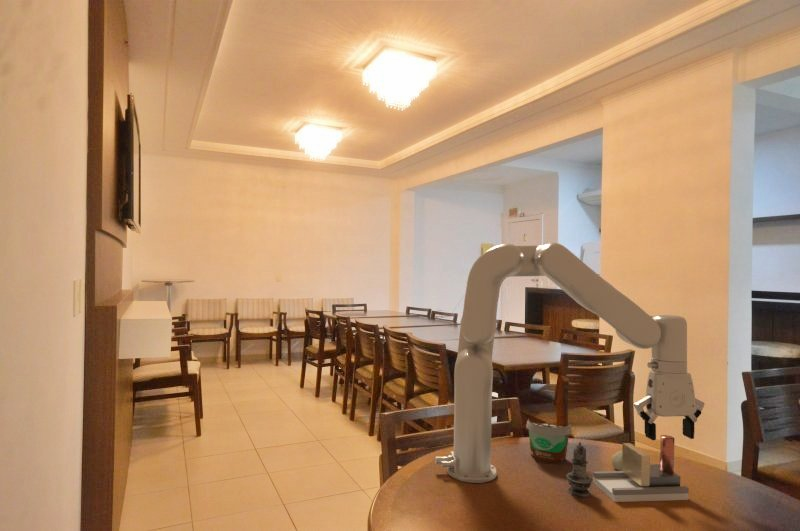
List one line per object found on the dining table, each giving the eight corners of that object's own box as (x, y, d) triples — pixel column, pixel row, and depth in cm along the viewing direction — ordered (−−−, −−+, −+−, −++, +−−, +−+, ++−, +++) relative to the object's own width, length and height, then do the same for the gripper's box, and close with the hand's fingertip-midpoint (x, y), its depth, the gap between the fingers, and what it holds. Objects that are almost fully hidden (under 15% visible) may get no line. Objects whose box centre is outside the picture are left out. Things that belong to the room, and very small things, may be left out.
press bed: (614, 501, 111) (614, 490, 111) (592, 482, 120) (593, 471, 120) (688, 499, 112) (688, 488, 112) (661, 480, 122) (661, 470, 122)
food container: (522, 460, 133) (523, 424, 133) (525, 453, 139) (526, 418, 139) (570, 468, 129) (570, 431, 129) (571, 460, 134) (571, 424, 134)
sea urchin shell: (660, 470, 124) (638, 448, 124) (638, 491, 124) (616, 469, 124) (643, 456, 133) (622, 435, 133) (622, 476, 133) (602, 455, 133)
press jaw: (641, 491, 112) (641, 443, 112) (622, 476, 120) (622, 432, 120) (683, 490, 113) (684, 443, 113) (661, 475, 121) (662, 431, 121)
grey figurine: (591, 489, 117) (592, 439, 117) (593, 500, 111) (593, 447, 111) (566, 485, 119) (566, 436, 119) (565, 495, 113) (566, 444, 113)
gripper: (644, 370, 113) (644, 444, 112) (714, 369, 114) (714, 442, 114) (626, 364, 120) (626, 433, 120) (691, 363, 122) (692, 431, 122)
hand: (669, 437), depth 117 cm, fingers open, 9 cm apart
